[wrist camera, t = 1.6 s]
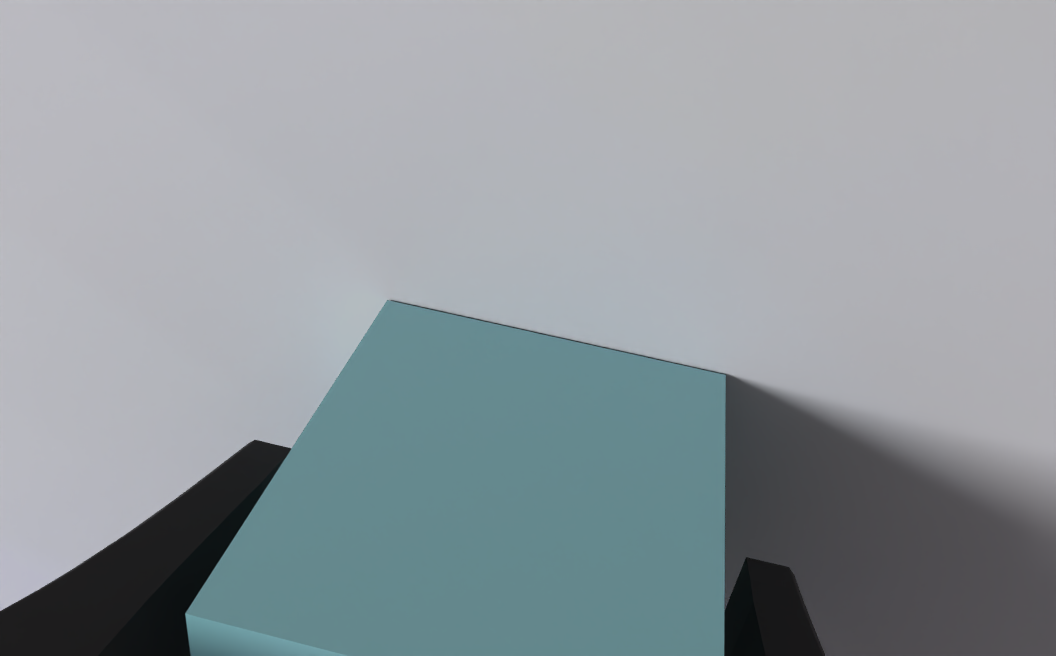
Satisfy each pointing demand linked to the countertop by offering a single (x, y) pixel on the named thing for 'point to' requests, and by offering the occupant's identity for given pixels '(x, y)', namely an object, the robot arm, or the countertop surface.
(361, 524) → the teal matte cube
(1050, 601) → the countertop surface
